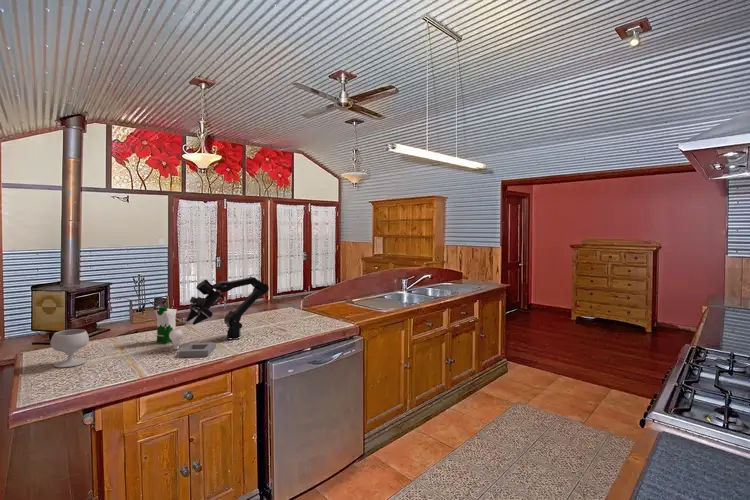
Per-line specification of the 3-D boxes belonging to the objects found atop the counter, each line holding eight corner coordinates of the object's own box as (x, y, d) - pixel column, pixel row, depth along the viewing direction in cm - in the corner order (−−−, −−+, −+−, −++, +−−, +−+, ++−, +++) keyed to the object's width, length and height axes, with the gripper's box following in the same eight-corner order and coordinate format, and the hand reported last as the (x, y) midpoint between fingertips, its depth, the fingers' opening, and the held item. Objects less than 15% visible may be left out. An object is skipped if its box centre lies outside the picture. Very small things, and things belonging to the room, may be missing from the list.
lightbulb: (172, 347, 205) (172, 327, 204) (184, 347, 205) (184, 327, 205) (167, 351, 198) (166, 330, 198) (179, 351, 199) (179, 330, 198)
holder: (216, 348, 205) (216, 342, 205) (208, 356, 191) (208, 350, 191) (188, 348, 203) (188, 343, 203) (178, 357, 190) (178, 351, 189)
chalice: (69, 370, 171) (68, 337, 170) (43, 367, 173) (42, 335, 173) (96, 359, 185) (96, 329, 184) (72, 358, 187) (71, 327, 186)
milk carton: (153, 342, 213) (153, 307, 213) (167, 338, 222) (167, 304, 221) (166, 344, 211) (165, 308, 210) (179, 340, 219) (178, 305, 218)
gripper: (192, 289, 216) (172, 311, 208) (206, 293, 203) (184, 316, 195) (207, 301, 222) (187, 323, 214) (221, 305, 209) (200, 329, 201)
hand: (189, 322), depth 206 cm, fingers open, 9 cm apart
